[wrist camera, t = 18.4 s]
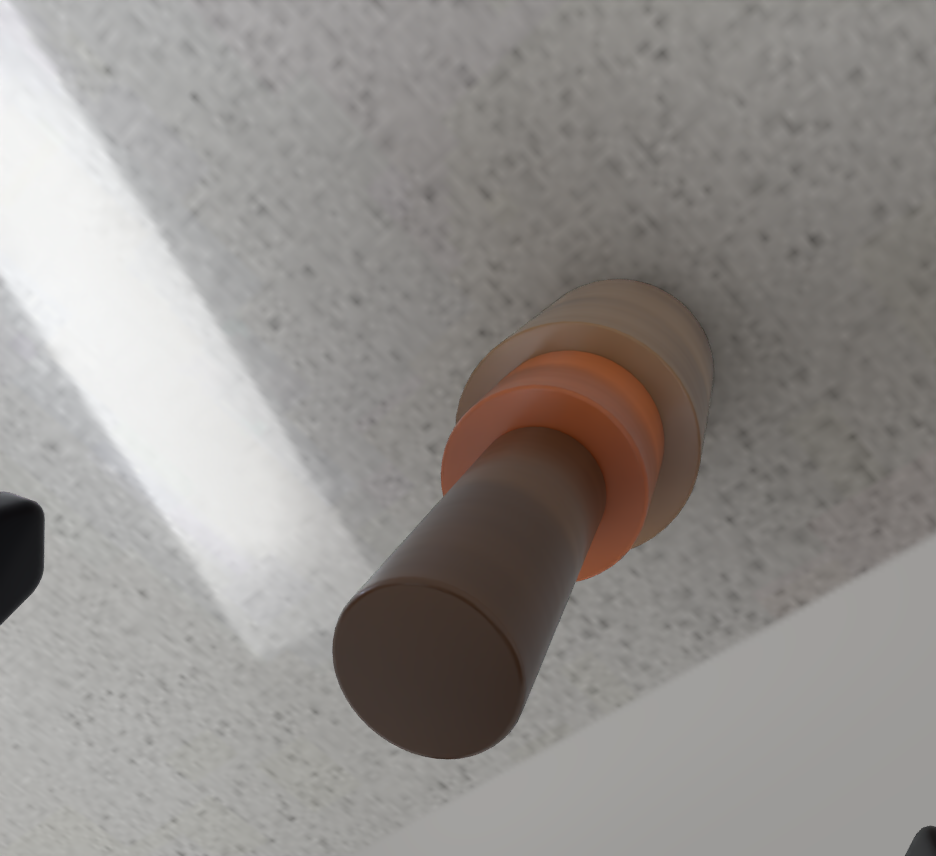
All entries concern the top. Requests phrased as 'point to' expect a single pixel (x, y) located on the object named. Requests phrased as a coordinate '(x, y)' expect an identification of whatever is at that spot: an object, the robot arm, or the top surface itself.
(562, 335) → the stand
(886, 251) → the top surface
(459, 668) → the brown peg with discs
